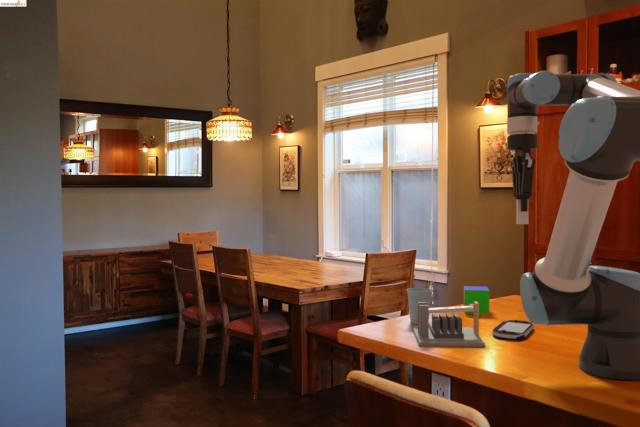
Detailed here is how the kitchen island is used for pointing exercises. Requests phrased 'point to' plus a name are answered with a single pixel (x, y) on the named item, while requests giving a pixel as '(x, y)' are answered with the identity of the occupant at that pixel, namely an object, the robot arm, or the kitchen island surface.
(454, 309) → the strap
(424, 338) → the grey slotted rack
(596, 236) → the robot arm
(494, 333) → the gaming console
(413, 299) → the cup
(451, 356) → the kitchen island surface
